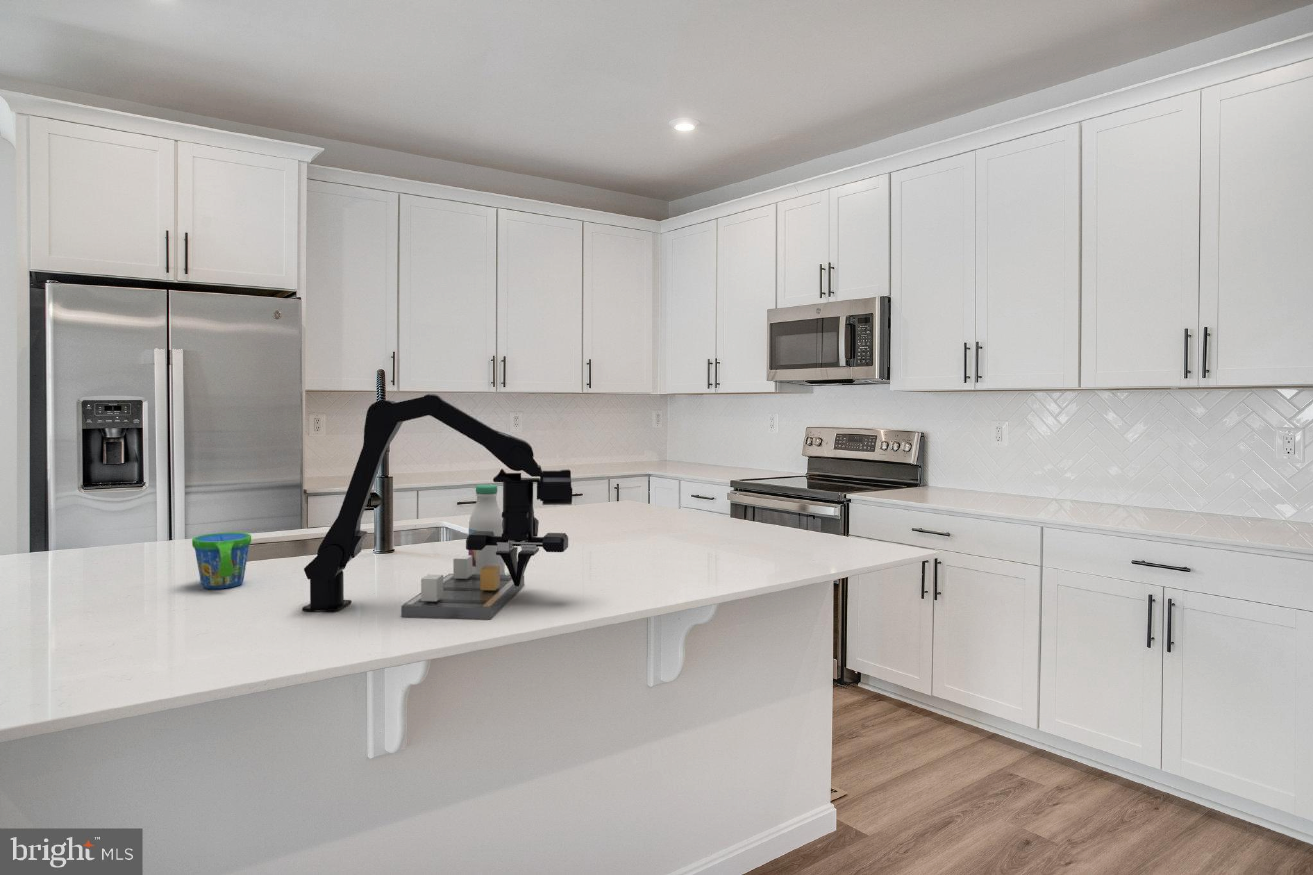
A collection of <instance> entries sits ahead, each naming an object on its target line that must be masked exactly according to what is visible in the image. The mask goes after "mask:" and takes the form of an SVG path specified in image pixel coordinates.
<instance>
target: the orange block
mask: <svg viewBox="0 0 1313 875" xmlns="http://www.w3.org/2000/svg"><path fill="white" fill-rule="evenodd" d="M499 586H500V566H498V565H485V566H484V567H483V568H481V569H480V590H496V589H497V588H498V587H499Z"/></svg>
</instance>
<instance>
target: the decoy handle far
mask: <svg viewBox="0 0 1313 875" xmlns="http://www.w3.org/2000/svg"><path fill="white" fill-rule="evenodd" d="M452 559H453V565H452V566H453V570H452V571H453V573H452V574H453V578H463V579H467V578H469V577H470V576H471V575H472V556H471V555H466V554H464V555H460V554H459V555H457V556H456V557H454V558H452Z"/></svg>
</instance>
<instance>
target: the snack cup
mask: <svg viewBox="0 0 1313 875" xmlns="http://www.w3.org/2000/svg"><path fill="white" fill-rule="evenodd" d="M251 542H252V535H251V534H250V533H245V532H217V533H209V534H202V535H198V536H194V537H193V538H192V540H191V544H192V545H191V546H192V548H193V549H194V551H195V552H194V553H195V558H196V564H197V568H198V569H197V570H198V575H199V580H200V585H201V586H202V587H204V588H205V589H207V590H209V589H213V590H223V589H224V588H225V589H230V588H235V586H236V587H239V586H241V585H242V584H243V583H244V579H245V573H246V565H247V561H248V556H249V555H248V554H249V549H250V548H249V547H250V544H251Z"/></svg>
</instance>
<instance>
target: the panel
mask: <svg viewBox="0 0 1313 875" xmlns="http://www.w3.org/2000/svg"><path fill="white" fill-rule="evenodd" d="M524 586H525V574H524V575H523V578H522V581H521V584H520V586H515V585H514V583H513V580H512V578H511V575H510V574H504V575H500V586H499V587H498V588H497V589H496V590H480V574H472V575H471V576H470V577H469V578H467V579H463V578H453V573H448V574H446V575H445V576H443V597H442V598H440V599H439V600H438V601H421V592H420V593H418V594H417V595H414V597H412V598H411V599H409V600H408V601H406V602H405V603H403V604H402V605H401V606H400V612H401V613H400V615H401V618H422V619H423V618H426V619H455V620H456V619H457V620H459V619H462V620H465V619H466V620H492V618H494V617H495V615H496V614H497V613H498V612H499V611H500V610H501V609H502V608H503V607H504V606H505V605H506V604H507V603H508V602H509V601H510V600H511V599H512V598H513V597H514V596H515V595H516V594H517V593H518V592H519V591H520V590H521V589H522V588H523V587H524Z"/></svg>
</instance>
